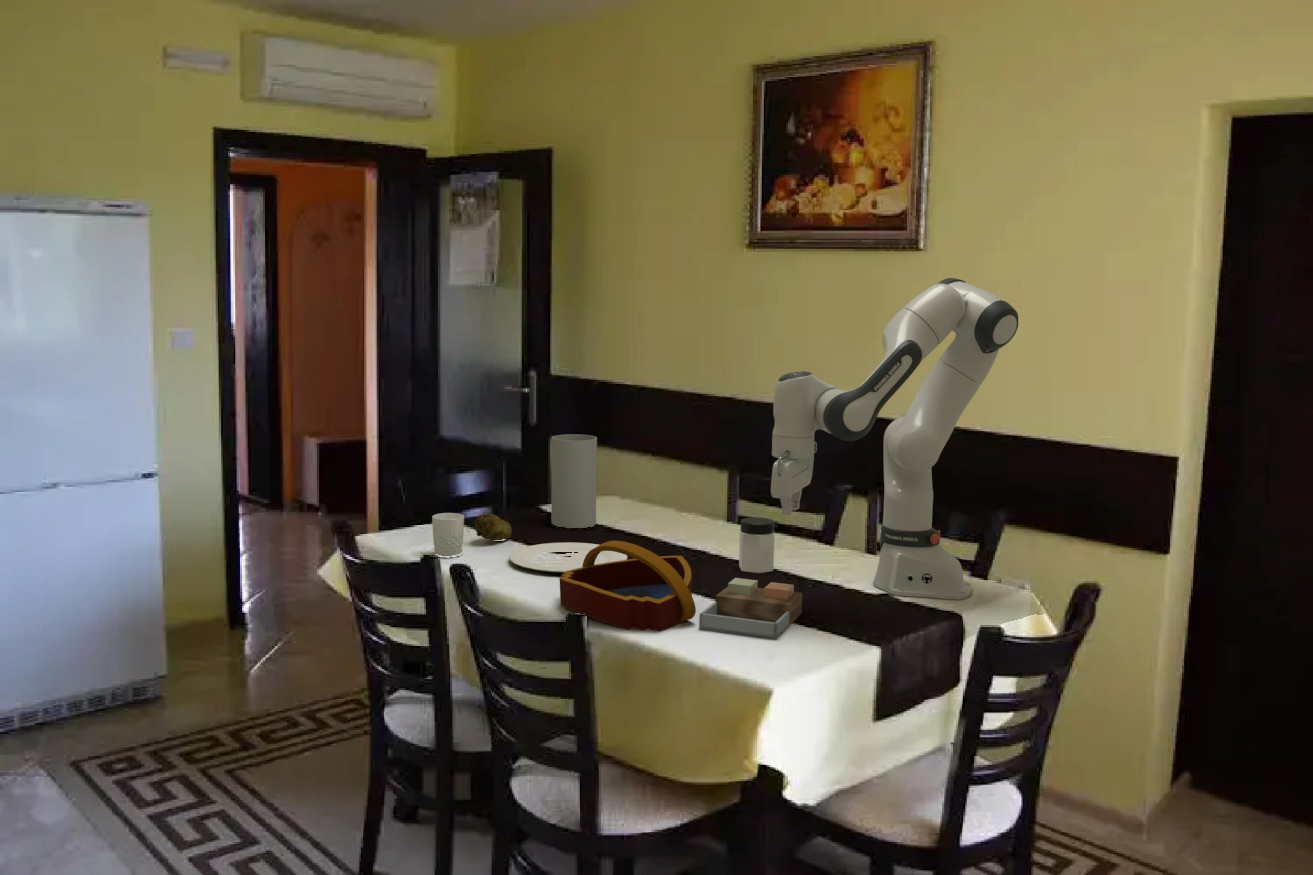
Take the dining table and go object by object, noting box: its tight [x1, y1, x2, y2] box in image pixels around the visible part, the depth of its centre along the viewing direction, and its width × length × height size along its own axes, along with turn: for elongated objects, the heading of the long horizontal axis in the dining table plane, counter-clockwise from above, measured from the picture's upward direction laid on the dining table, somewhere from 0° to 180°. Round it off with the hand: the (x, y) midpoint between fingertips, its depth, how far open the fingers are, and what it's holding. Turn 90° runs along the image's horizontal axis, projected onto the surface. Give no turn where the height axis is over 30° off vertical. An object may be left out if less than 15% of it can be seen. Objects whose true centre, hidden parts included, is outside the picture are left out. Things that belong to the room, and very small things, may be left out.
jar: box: [738, 517, 775, 574], centre depth 288 cm, size 9×8×12 cm
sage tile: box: [727, 577, 759, 595], centre depth 252 cm, size 5×5×2 cm
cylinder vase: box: [550, 433, 598, 529], centre depth 332 cm, size 12×12×25 cm
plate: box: [508, 542, 629, 574], centre depth 292 cm, size 29×29×2 cm
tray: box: [698, 601, 790, 641], centre depth 241 cm, size 16×9×3 cm, turn 68°
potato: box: [474, 512, 512, 541], centre depth 312 cm, size 8×13×8 cm, turn 137°
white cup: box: [431, 512, 465, 556], centre depth 296 cm, size 8×8×10 cm
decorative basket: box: [559, 540, 697, 632], centre depth 253 cm, size 34×29×15 cm
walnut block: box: [715, 586, 803, 627], centre depth 250 cm, size 16×10×4 cm, turn 68°
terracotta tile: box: [763, 581, 795, 600], centre depth 249 cm, size 5×5×2 cm
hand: (790, 512), depth 254 cm, fingers open, 5 cm apart
